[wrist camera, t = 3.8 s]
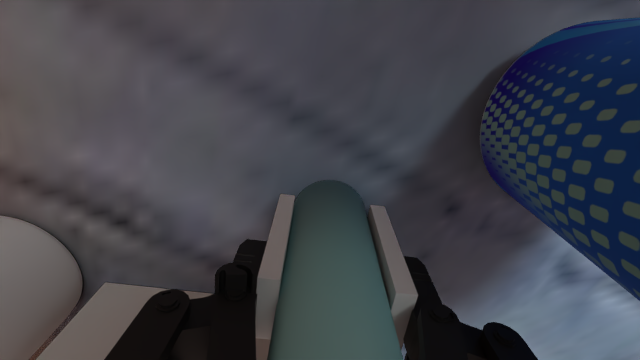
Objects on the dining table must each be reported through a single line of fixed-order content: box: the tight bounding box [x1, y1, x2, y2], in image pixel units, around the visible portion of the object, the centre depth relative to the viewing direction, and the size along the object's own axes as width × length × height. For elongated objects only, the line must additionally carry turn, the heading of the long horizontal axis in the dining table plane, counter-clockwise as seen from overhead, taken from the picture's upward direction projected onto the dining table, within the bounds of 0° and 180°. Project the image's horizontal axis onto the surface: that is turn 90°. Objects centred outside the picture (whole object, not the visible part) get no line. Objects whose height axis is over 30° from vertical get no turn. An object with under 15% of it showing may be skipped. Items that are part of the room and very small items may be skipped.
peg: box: [267, 180, 403, 360], centre depth 13 cm, size 4×4×12 cm
